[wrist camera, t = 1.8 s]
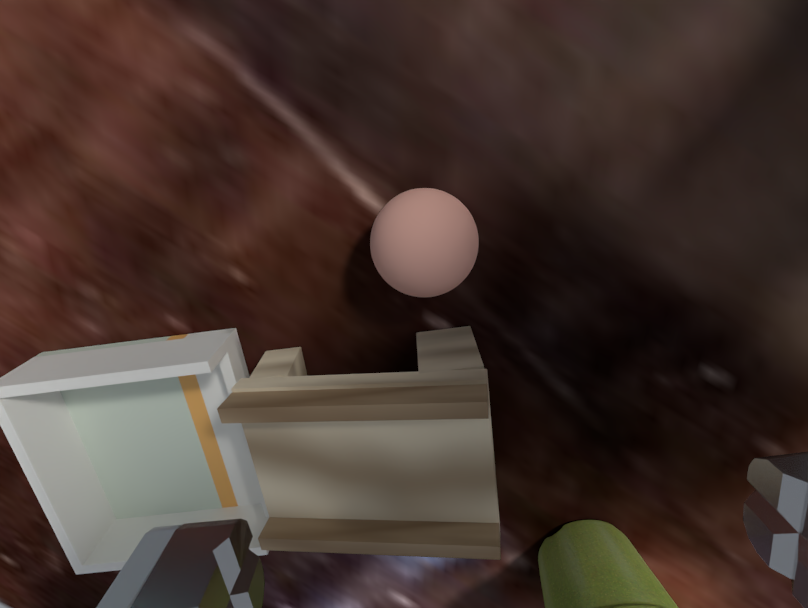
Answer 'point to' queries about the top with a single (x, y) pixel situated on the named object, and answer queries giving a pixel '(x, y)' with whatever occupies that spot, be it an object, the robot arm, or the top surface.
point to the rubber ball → (424, 242)
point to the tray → (132, 441)
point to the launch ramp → (375, 453)
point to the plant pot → (596, 570)
